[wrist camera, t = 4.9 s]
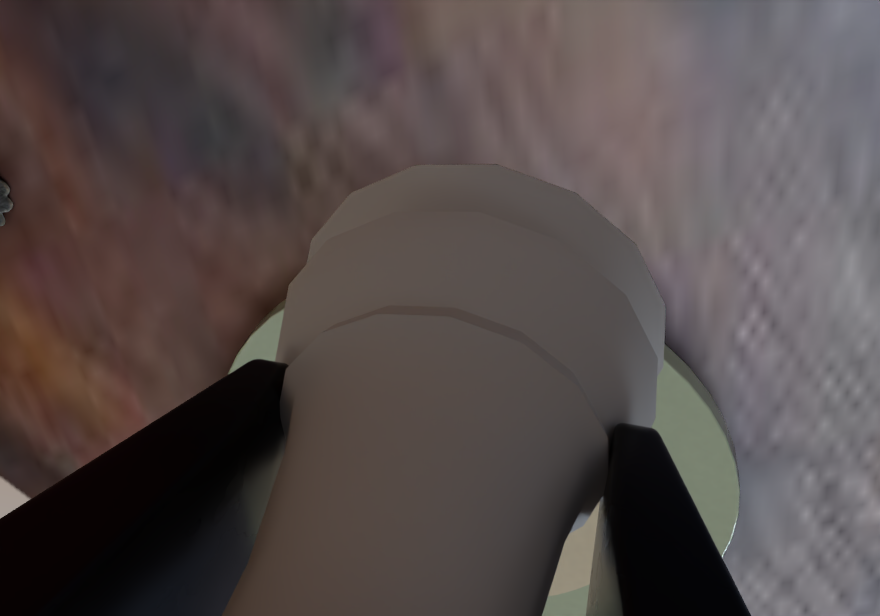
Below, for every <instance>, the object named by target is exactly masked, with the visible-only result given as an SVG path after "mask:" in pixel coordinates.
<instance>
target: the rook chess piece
mask: <svg viewBox="0 0 880 616" xmlns="http://www.w3.org/2000/svg"><path fill="white" fill-rule="evenodd" d="M665 317H666V306H665V304H664V302H663V300H662V298H661V296H660V294H659V291H658V289H657V287H656V285H655V283H654V281H653V279H652V277H651V275H650V273H649V271H648V268H647V266H646V264H645V262H644V260H643V258H642V256H641V254H640V252H639V250H638V248H637V245H636V244H635V243H634V242H633V241H631V240H630V239H629V238H628V237H627V236H626V235H624V234H623V233H622V232H621V231H620V230H619V229H617V228H616V227H615V226H614V225H613V224H612V223H610V222H609V221H608V220H607V219H606V218H605V217H603V216H602V215H601V214H600V213H599V212H598V211H596V210H595V209H594V208H593V207H592V206H591V205H589V204H588V203H587V202H586V201H585V200H584V199H582V198H581V197H580V196H579V195H578V194H577V193H575V192H572V191H570V190H567V189H564V188H561V187H559V186H556V185H553V184H550V183H547V182H545V181H542V180H539V179H536V178H533V177H531V176H528V175H525V174H522V173H520V172H517V171H514V170H511V169H508V168H506V167H503V166H500V165H497V164H461V165H414V166H412V167H410V168H407V169H405V170H403V171H401V172H398V173H396V174H394V175H391V176H389V177H387V178H384V179H382V180H380V181H377V182H375V183H373V184H371V185H368V186H366V187H364V188H361V189H359V190H357V191H354V192H352V193H350V194H349V196H348V197H347V198H346V199H345V200H344V202H343V203H342V204H341V205H340V206H339V208H338V209H337V210H336V211H335V212H334V214H333V215H332V216H331V217H330V218H329V220H328V221H327V222H326V223H325V224H324V226H323V227H322V228H321V229H320V230H319V231H318V233H317V234H316V235H315V236H314V237H313V239H312V240H311V245H310V250H309V255H308V261H307V264H306V265H305V267H304V268H303V269H302V270H301V271H300V272H299V274H298V275H297V276H296V277H295V278H294V279H293V281H292V282H291V283H290V284H289V287H288V292H287V298H286V303H285V309H284V314H283V320H282V325H281V331H280V336H279V342H278V348H277V353H276V359H275V362H281V363H286V364H288V365H289V367H288V368H287V369H286V371H285V376H284V382H283V387H282V392H281V397H280V418H281V422H282V427H283V431H284V435H285V438H286V446H285V452H284V455H283V458H282V461H281V464H280V467H279V470H278V473H277V476H276V479H275V482H274V485H273V488H272V491H271V494H270V497H269V500H268V504H267V507H266V510H265V513H264V516H263V519H262V522H261V525H260V528H259V531H258V534H257V537H256V540H255V543H254V546H253V549H252V552H251V555H250V558H249V561H248V564H247V566H246V568H245V570H244V572H243V574H242V576H241V578H240V580H239V582H238V584H237V586H236V588H235V590H234V592H233V594H232V596H231V598H230V600H229V602H228V604H227V606H226V608H225V610H224V612H223V614H222V616H542V614H543V611H544V608H545V604H546V601H547V598H548V595H549V591H550V588H551V585H552V582H553V579H554V575H555V572H556V569H557V566H558V562H559V559H560V556H561V553H562V550H563V546H564V543H565V541H566V539H567V537H568V535H569V534H570V533H571V532H573V531H575V530H577V529H579V528H580V527H582V526H584V524H585V523H586V521H587V520H588V518H589V517H590V515H591V513H592V512H593V510H594V509H595V507H596V506H597V504H598V503H599V501H600V500H601V498H602V497H603V494H604V490H605V485H606V480H607V475H608V456H609V451H610V446H611V441H612V436H613V431H614V428H615V426H616V425H617V424H619V423H627V424H633V425H638V426H644V427H650V428H651V427H652V425H653V423H654V420H655V418H656V394H657V377H658V375H659V373H660V372H661V370H662V369H663V363H664V340H665Z"/></svg>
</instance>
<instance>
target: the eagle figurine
mask: <svg viewBox="0 0 880 616" xmlns="http://www.w3.org/2000/svg"><path fill="white" fill-rule="evenodd" d="M9 192H10V188H9V187H8V185H7V184H6V183H5V182H4V181H2V180H1V179H0V226H3V225H4V224H5V218H4V216H3V214H2V213H3V212H9V211H10V210H11V209H12V207H13V202H12V201H11V200H10V199H9V198H8V197H7V195H8V194H9Z"/></svg>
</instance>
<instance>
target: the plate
mask: <svg viewBox="0 0 880 616" xmlns="http://www.w3.org/2000/svg"><path fill="white" fill-rule="evenodd" d="M285 303H286V300H284V301H283V302H281V303H279V304H278V305H277V306H276V307H275V308H274V309H273V310H272V311H271V312H270V313H269V314H268V315H267V316H265V317H264V318H263V319H262V320H261V321H260V322H259V324H258V325H257V326H256V328H255V329H254V330H253V332H252V333H251V335H250V336H249V337H248V339H247V340H246V341H245V343H244V344H243V346H242V347H241V349H240V350H239V352H238V353H237V355H236V358H235V360H234V362H233V364H232V366H231V368H230V370H229V372H228V374H230V373H232V372H233V371H235V370H236V369H238V368H240V367H241V366H243V365H244V364H246V363H247V362H249V361H251V360H254V359H264V360H269V361H275V359H276V353H277V348H278V342H279V336H280V331H281V325H282V320H283V314H284V309H285ZM651 428H653V429H655V430H656V431H658V433H659V434H660V436H661V437H662V439H663V441H664V443H665V445H666V447H667V449H668V451H669V453H670V455H671V457H672V459H673V461H674V463H675V465H676V467H677V469H678V471H679V473H680V475H681V477H682V479H683V481H684V483H685V485H686V487H687V489H688V491H689V493H690V495H691V497H692V499H693V501H694V503H695V505H696V507H697V509H698V511H699V513H700V515H701V517H702V519H703V521H704V523H705V525H706V527H707V529H708V531H709V533H710V535H711V537H712V539H713V541H714V543H715V545H716V547H717V549H718V551H719V553H720V555H721V557H722V558H723V556H724V554H725V552H726V550H727V548H728V546H729V544H730V542H731V540H732V538H733V534H734V530H735V527H736V523H737V519H738V515H739V499H740V484H739V473H738V466H737V460H736V453H735V447H734V444H733V442H732V439H731V436H730V433H729V430H728V427H727V425H726V422H725V420H724V418H723V416H722V414H721V412H720V411H719V409H718V407H717V405H716V404H715V402H714V400H713V398H712V396H711V395H710V393H709V392H708V391H707V389H706V388H705V387H704V385H703V384H702V383H701V382H700V380H699V379H698V378H697V377H696V375H695V374H694V373H693V372H692V370H691V369H690V368H689V366H688V365H687V364H685V363H684V362H683V361H682V360H681V359H680V358H679V357H678V356H677V355H676V354H675V353H674V352H673V351H672V350H671V349H670V348H669V347H668V346H667V345H666V344H665V343H664V363H663V369H662V370H661V372H660V373H659V375H658V377H657V394H656V418H655V420H654V423H653V425H652V427H651ZM599 504H600V501H599V503H598V504H597V506H596V507H595V509H594V510H593V512H592V513H591V515H590V517H589V518H588V520H587V521H586V523H585V524H584V526H582V527H580V528H579V529H577V530H575V531H573V532H571V533H570V534H569V535H568V537H567V539H566V541H565V543H564V546H563V550H562V553H561V556H560V559H559V562H558V566H557V569H556V572H555V575H554V579H553V582H552V585H551V588H550V591H549V595H548V598H547V601H546V604H545V608H544V611H543V614H542V616H586V608H587V600H588V592H589V584H590V576H591V568H592V560H593V552H594V544H595V536H596V528H597V520H598V512H599Z"/></svg>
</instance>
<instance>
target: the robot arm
mask: <svg viewBox="0 0 880 616" xmlns="http://www.w3.org/2000/svg"><path fill="white" fill-rule="evenodd" d="M288 367H289V365H288V364H286V363H281V362H275V361H269V360H264V359H254V360H251V361H249V362H247V363H246V364H244V365H243V366H241V367H240V368H238V369H236V370H235V371H233V372H232V373H230V374H228V375H227V376H225V377H224V378H222V379H221V380H219V381H217V382H216V383H214V384H213V385H211V386H209V387H208V388H206V389H205V390H203V391H202V392H200V393H198V394H197V395H195V396H194V397H192V398H190V399H189V400H187V401H186V402H184V403H183V404H181V405H179V406H178V407H176V408H175V409H173V410H171V411H170V412H168V413H167V414H165V415H164V416H162V417H160V418H159V419H157V420H156V421H154V422H152V423H151V424H149V425H148V426H146V427H145V428H143V429H141V430H140V431H138V432H137V433H135V434H133V435H132V436H130V437H129V438H127V439H126V440H124V441H122V442H121V443H119V444H118V445H116V446H114V447H113V448H111V449H110V450H108V451H107V452H105V453H103V454H102V455H100V456H99V457H97V458H96V459H94V460H92V461H91V462H89V463H88V464H86V465H84V466H83V467H81V468H80V469H78V470H77V471H75V472H73V473H72V474H70V475H69V476H67V477H65V478H64V479H62V480H61V481H59V482H58V483H56V484H54V485H53V486H51V487H50V488H48V489H46V490H45V491H43V492H42V493H40V494H39V495H37V496H35V497H34V498H32V499H31V500H29V501H27V502H26V503H24V504H23V505H21V506H20V507H18V508H16V509H15V510H13V511H12V512H10V513H8V514H7V515H6V516H4V517H2V518H1V519H0V616H222V614H223V612H224V610H225V608H226V606H227V604H228V602H229V600H230V598H231V596H232V594H233V592H234V590H235V588H236V586H237V584H238V582H239V580H240V578H241V576H242V574H243V572H244V570H245V568H246V566H247V564H248V561H249V558H250V555H251V552H252V549H253V546H254V543H255V540H256V537H257V534H258V531H259V528H260V525H261V522H262V519H263V516H264V513H265V510H266V507H267V504H268V500H269V497H270V494H271V491H272V488H273V485H274V482H275V479H276V476H277V473H278V470H279V467H280V464H281V461H282V458H283V455H284V452H285V446H286V438H285V435H284V431H283V427H282V422H281V418H280V397H281V392H282V387H283V382H284V376H285V371H286V369H287V368H288ZM586 616H751V615H750V613H749V611H748V609H747V607H746V605H745V603H744V601H743V599H742V597H741V595H740V593H739V591H738V589H737V587H736V585H735V583H734V581H733V579H732V577H731V575H730V573H729V571H728V569H727V567H726V565H725V563H724V561H723V559H722V557H721V555H720V553H719V551H718V549H717V547H716V545H715V543H714V541H713V539H712V537H711V535H710V533H709V531H708V529H707V527H706V525H705V523H704V521H703V519H702V517H701V515H700V513H699V511H698V509H697V507H696V505H695V503H694V501H693V499H692V497H691V495H690V493H689V491H688V489H687V487H686V485H685V483H684V481H683V479H682V477H681V475H680V473H679V471H678V469H677V467H676V465H675V463H674V461H673V459H672V457H671V455H670V453H669V451H668V449H667V447H666V445H665V443H664V441H663V439H662V437H661V436H660V434H659V433H658V431H656V430H655V429H653V428H650V427H644V426H638V425H633V424H627V423H619V424H617V425H616V426H615V428H614V431H613V436H612V441H611V446H610V451H609V456H608V475H607V480H606V485H605V490H604V494H603V497H602V498H601V500H600V504H599V512H598V520H597V528H596V536H595V544H594V552H593V560H592V568H591V576H590V584H589V592H588V600H587V608H586Z"/></svg>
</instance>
